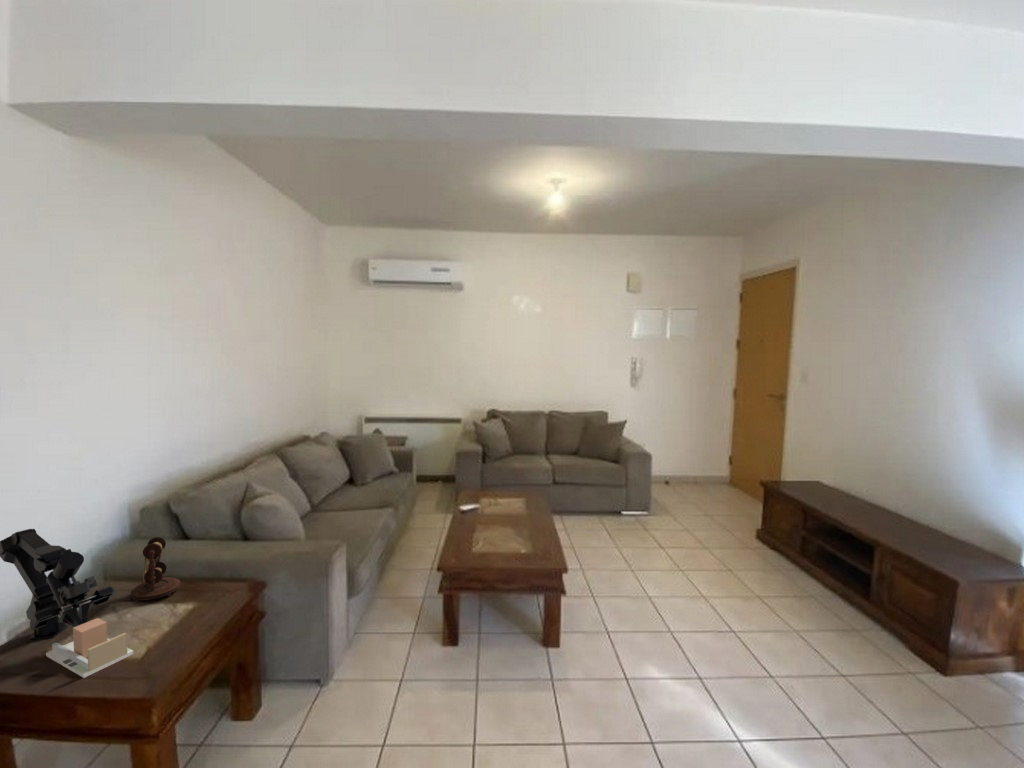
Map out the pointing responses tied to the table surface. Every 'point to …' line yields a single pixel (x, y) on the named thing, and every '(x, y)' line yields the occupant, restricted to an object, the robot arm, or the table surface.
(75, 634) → the slider block
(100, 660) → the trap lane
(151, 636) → the table surface
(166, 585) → the brown upright piece
